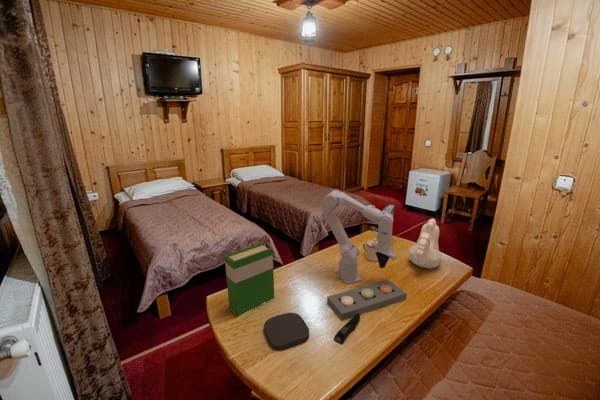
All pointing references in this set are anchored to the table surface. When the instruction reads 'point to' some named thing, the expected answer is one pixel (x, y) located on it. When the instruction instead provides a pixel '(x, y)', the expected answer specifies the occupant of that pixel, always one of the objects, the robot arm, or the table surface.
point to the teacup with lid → (371, 250)
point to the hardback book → (249, 277)
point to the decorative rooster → (426, 247)
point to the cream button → (347, 300)
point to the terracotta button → (386, 289)
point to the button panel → (365, 305)
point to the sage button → (367, 293)
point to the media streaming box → (286, 331)
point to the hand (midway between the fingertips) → (382, 267)
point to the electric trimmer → (346, 329)
